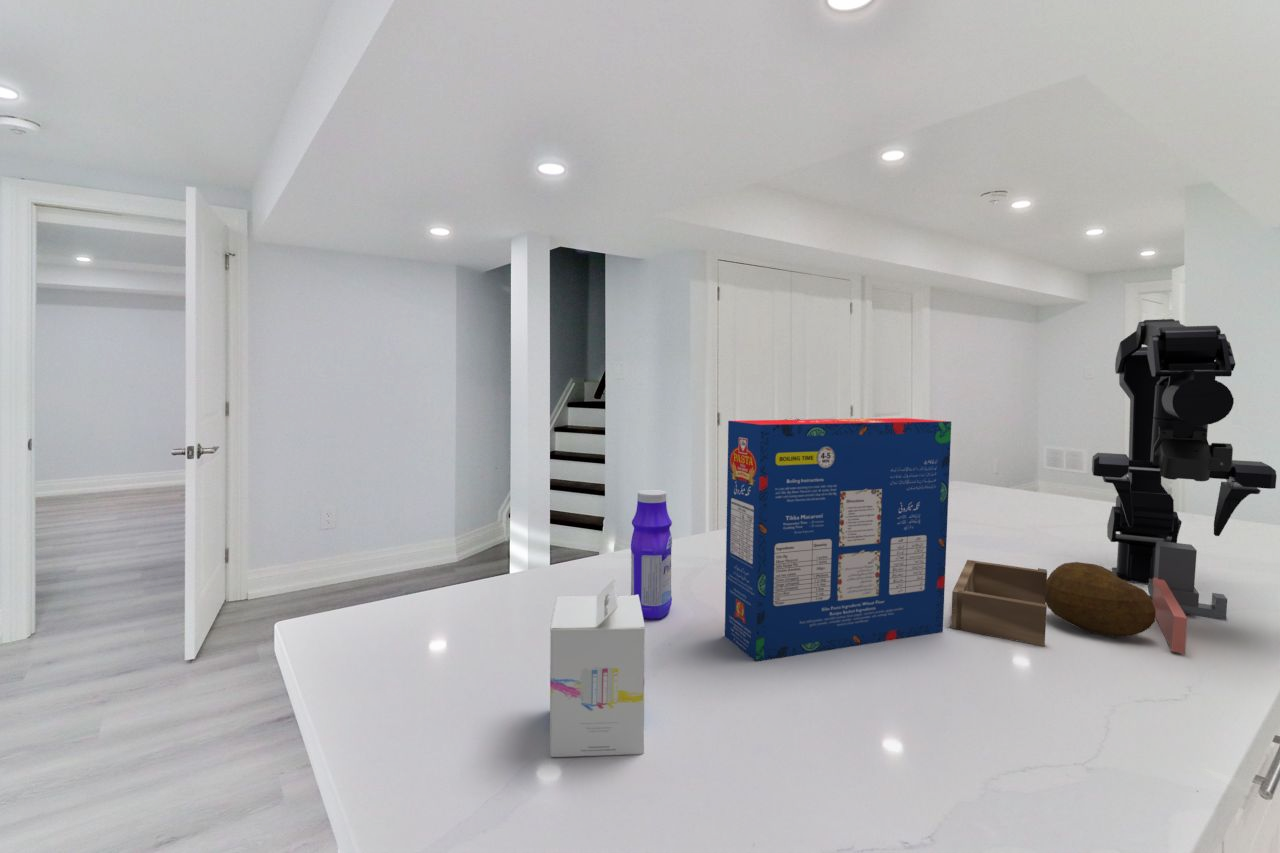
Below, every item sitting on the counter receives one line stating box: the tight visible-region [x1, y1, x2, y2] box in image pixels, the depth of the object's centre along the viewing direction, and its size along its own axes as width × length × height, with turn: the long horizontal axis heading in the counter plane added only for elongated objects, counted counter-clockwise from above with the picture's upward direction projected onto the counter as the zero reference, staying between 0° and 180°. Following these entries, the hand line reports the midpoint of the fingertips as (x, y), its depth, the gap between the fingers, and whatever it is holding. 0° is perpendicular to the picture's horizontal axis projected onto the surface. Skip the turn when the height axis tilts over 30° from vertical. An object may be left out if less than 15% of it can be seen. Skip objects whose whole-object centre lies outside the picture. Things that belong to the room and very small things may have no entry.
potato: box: [1044, 561, 1156, 638], centre depth 84 cm, size 8×12×9 cm
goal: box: [950, 559, 1048, 647], centre depth 89 cm, size 18×11×5 cm, turn 147°
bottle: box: [630, 488, 673, 620], centre depth 88 cm, size 7×6×17 cm
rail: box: [1037, 567, 1228, 621], centre depth 95 cm, size 2×22×3 cm, turn 57°
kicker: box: [1147, 541, 1200, 654], centre depth 84 cm, size 22×5×9 cm, turn 147°
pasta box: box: [724, 417, 952, 663], centre depth 81 cm, size 28×8×28 cm, turn 109°
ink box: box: [549, 579, 646, 758], centre depth 58 cm, size 9×8×13 cm
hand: (1172, 530), depth 87 cm, fingers open, 9 cm apart
